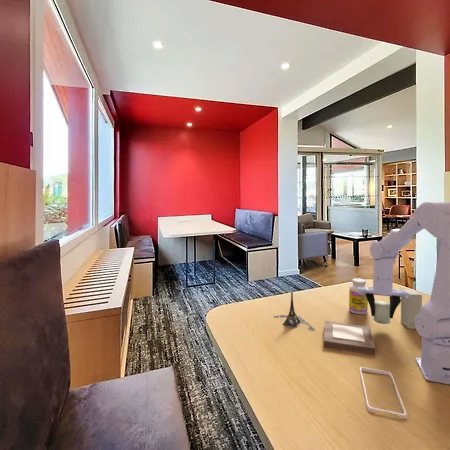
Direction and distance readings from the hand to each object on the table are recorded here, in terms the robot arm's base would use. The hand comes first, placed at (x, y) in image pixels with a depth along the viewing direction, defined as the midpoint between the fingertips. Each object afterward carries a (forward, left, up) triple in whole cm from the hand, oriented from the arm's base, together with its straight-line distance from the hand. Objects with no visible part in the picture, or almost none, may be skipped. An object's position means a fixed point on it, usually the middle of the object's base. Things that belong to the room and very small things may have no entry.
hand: (381, 316), depth 93 cm
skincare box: (+7, -10, -5) cm, 13 cm away
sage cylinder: (0, 0, -2) cm, 2 cm away
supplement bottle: (+14, +6, -5) cm, 16 cm away
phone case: (-33, +5, -6) cm, 34 cm away
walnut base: (-10, +11, -5) cm, 16 cm away
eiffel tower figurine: (-4, +29, -6) cm, 30 cm away
